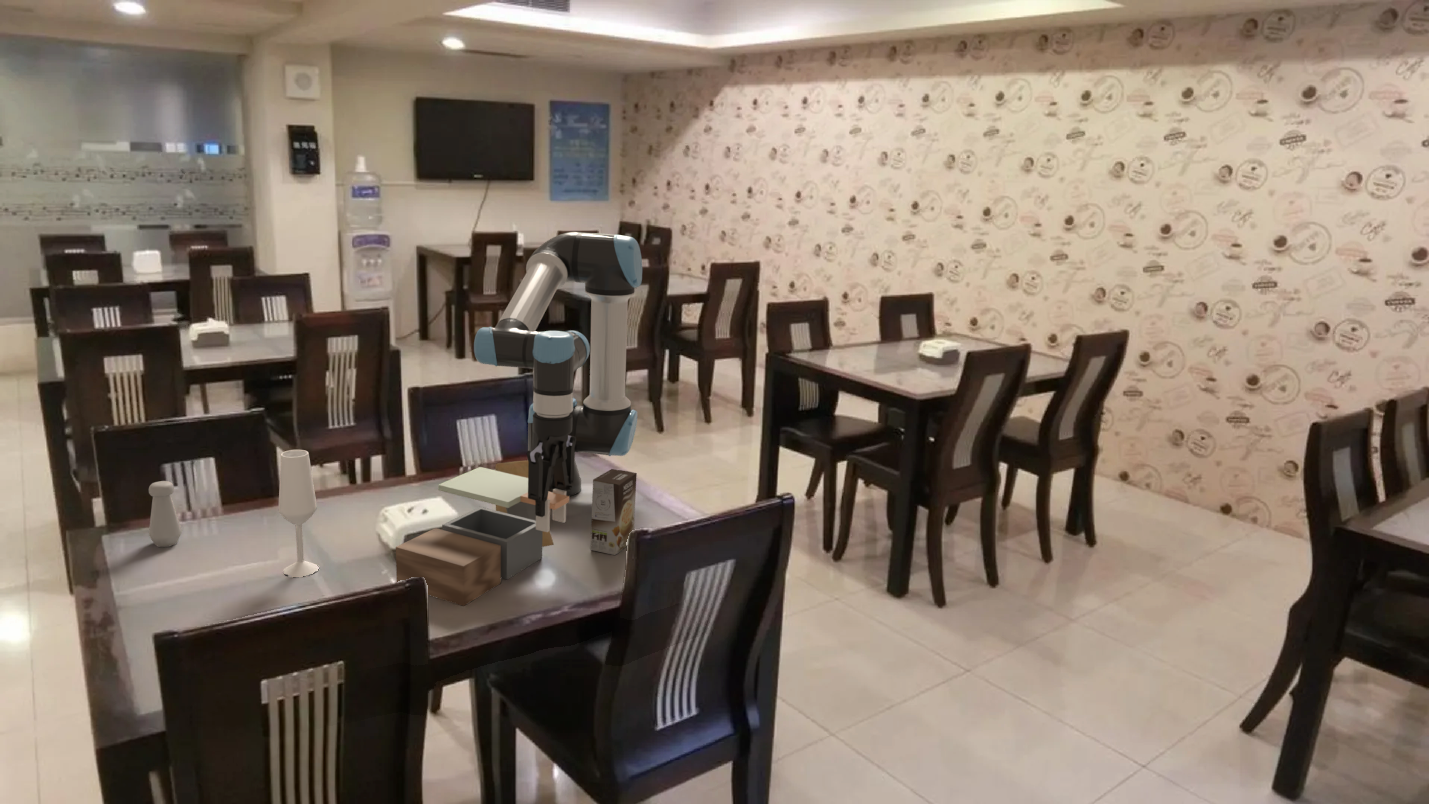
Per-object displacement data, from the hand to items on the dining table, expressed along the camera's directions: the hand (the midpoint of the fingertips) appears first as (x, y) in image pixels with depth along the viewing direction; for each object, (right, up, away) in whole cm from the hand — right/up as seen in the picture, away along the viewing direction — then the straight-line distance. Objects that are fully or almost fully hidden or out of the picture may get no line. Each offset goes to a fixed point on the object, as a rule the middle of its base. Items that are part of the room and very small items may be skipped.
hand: (550, 525), depth 181 cm
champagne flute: (-49, -9, -2) cm, 49 cm away
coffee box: (+10, -7, +19) cm, 22 cm away
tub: (-13, -8, +8) cm, 18 cm away
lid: (-9, +6, +3) cm, 11 cm away
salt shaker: (-80, -5, +6) cm, 80 cm away
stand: (-19, -11, -4) cm, 22 cm away
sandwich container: (-10, -5, +21) cm, 24 cm away
